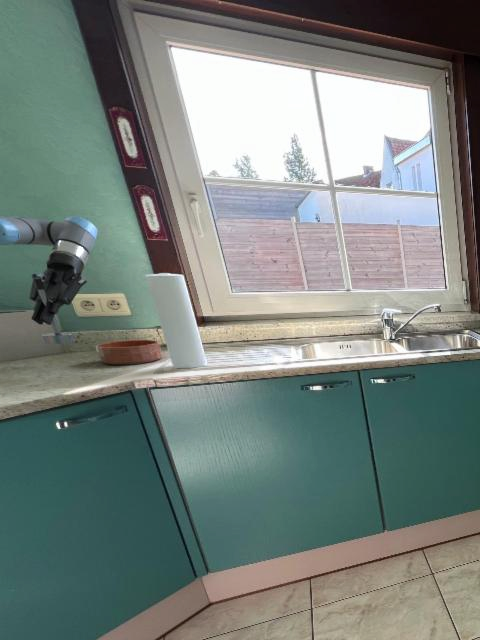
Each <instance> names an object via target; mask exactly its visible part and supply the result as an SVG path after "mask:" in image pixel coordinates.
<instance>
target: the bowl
mask: <svg viewBox="0 0 480 640" xmlns="http://www.w3.org/2000/svg"><path fill="white" fill-rule="evenodd" d="M95 349H96V352H97V355H98V358H99V360H100V362H101V363H103V364H107V365H110V366H129V365H140V364H147V363H152V362H156V361H158V360H160V359H161V358H163V357H164V355H163V352H162V348H161V344H160V342H159V340H153V339H131V340H118V341H109V342H103V343H99V344H96V345H95Z"/></svg>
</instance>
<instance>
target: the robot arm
mask: <svg viewBox="0 0 480 640" xmlns="http://www.w3.org/2000/svg"><path fill="white" fill-rule="evenodd" d="M98 234H99V232H98V228H97V227H96V226H95V225H94V224H93V223H92V222H91V221H90V220H87V219H85V218H83V217H80V216H77V215H71V216H68V217H66V218H65V219H64V220H63V222H61V221H52V220H44V219H37V218H30V217H26V216H4V215H0V245H1V246H9V245H28V246H47V247H52V249H51V251H50V253H49V255H48V257H47V260H46V263H45V264H46V269H45V270H44V271H43V272H42V273H40V274H36V273H32V274H31V278H32V283H31V287H30V293H29V297H28V298H29V300H31V301H32V302H33V303H35V304H34V306H33V309H32V310H33V314H32V316H31V318H30V319H31V320H32V321H34V322H35V323H37V325H41V326H42V325H43V324H44V323H45V324H46V325H48V326H49V325H50V326H51V323H52V321H53V318H54V316H55V317H56V315H58V313H59V311H60V308H61V307H63V306H65V305H66V306H70V305H71V304H72V302H73V301H74V299H75V297H76V296H77V295H78V293H79V292H80V290H81V289H82V287H83V286H84V285H85V284H87V283H88V280H87V279H85V278H84V277H83V276H82V274H83V271H84V269H85V266H86V264H87V261H88V259H89V256H90V253H91V251H92V249H93V247H94V245H95V244H96V242H97V237H98ZM35 278H40V279H42V282H43V285H44V287H45V291H46V294H47V297H48V299H49V301H47V303H46V305H45V307H44V305H43V302H42V299H41V297H40V294H39V291H38V289H37V287H36V285H35V282H34V279H35Z"/></svg>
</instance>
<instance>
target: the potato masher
mask: <svg viewBox="0 0 480 640" xmlns="http://www.w3.org/2000/svg"><path fill="white" fill-rule="evenodd" d="M34 282H35V285H36V287H37V289H38V291H39V294H40V297H41V299H42V302H43V305H44V307H45V305H46V303H47V301H49V299H48V297H47V294H46V291H45V287H44V285H43V282H42V279H40V278H35V279H34ZM50 326H51V328H52V331H53V332H48V333H43V334H40V337H41V339H42V341H43V343H44V344H45V345H46V344H47V345H58V344H59V345H60V344H70V343H76V342H77V341H78V340H77V337H76V334H75V333H74V332H71V331H70V332H69V331H68V332H67V331H66V332H65V331H63V332H62V331H61V329H60V327H59V323H58V321H57V318H56V315H55V316H54V318H53V321H52V323H51V325H50Z"/></svg>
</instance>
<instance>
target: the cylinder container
mask: <svg viewBox="0 0 480 640" xmlns="http://www.w3.org/2000/svg"><path fill="white" fill-rule="evenodd" d="M145 278H146V281H147V285H148V289H149V291H150V295H151V299H152V301H153V305H154V308H155V312H156V315H157V318H158V322H159V324H160V328H161V332H162V335H163V338H164V341H165V344H166V348H167V351H168V355H169V358H170V362H171V364H172V367H173V368H174V369H193V368H201V367H205V366H207V365H208V360H207V356H206V353H205V350H204V346H203V342H202V338H201V334H200V331H199V327H198V323H197V319H196V316H195V312H194V309H193V305H192V302H191V298H190V294H189V291H188V287H187V284H186V279H185V276H184V274H179V273H169V272H159V273H152V274H145Z"/></svg>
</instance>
